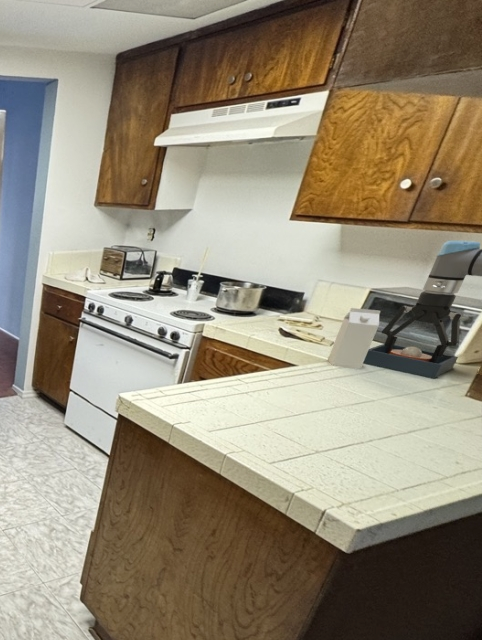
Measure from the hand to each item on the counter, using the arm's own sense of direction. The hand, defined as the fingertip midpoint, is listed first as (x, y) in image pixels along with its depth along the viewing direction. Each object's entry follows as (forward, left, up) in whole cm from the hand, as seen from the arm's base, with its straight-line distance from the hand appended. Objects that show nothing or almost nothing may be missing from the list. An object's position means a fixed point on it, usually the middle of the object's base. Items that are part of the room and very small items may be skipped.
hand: (408, 360), depth 154 cm
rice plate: (0, 0, 0) cm, 0 cm away
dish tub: (0, 0, -3) cm, 3 cm away
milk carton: (+11, +16, -3) cm, 20 cm away
